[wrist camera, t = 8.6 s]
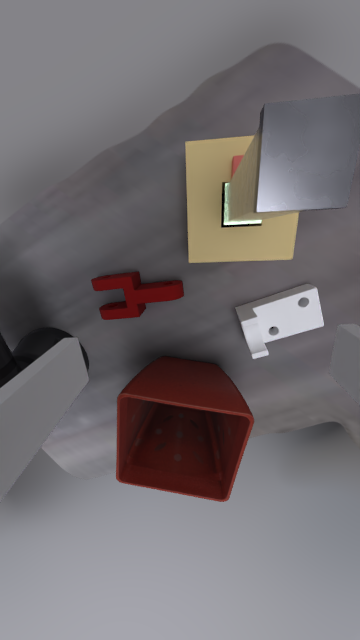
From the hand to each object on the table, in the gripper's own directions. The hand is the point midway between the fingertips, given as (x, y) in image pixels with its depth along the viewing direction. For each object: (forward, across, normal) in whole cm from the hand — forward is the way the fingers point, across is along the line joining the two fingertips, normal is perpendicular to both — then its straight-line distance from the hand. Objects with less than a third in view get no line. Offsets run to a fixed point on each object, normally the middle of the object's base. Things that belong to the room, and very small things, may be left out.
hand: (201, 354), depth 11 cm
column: (+24, +6, +9) cm, 26 cm away
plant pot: (+30, -4, -25) cm, 39 cm away
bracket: (+30, +14, -9) cm, 34 cm away
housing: (+30, +6, +9) cm, 32 cm away
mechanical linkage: (+31, -11, -3) cm, 33 cm away
